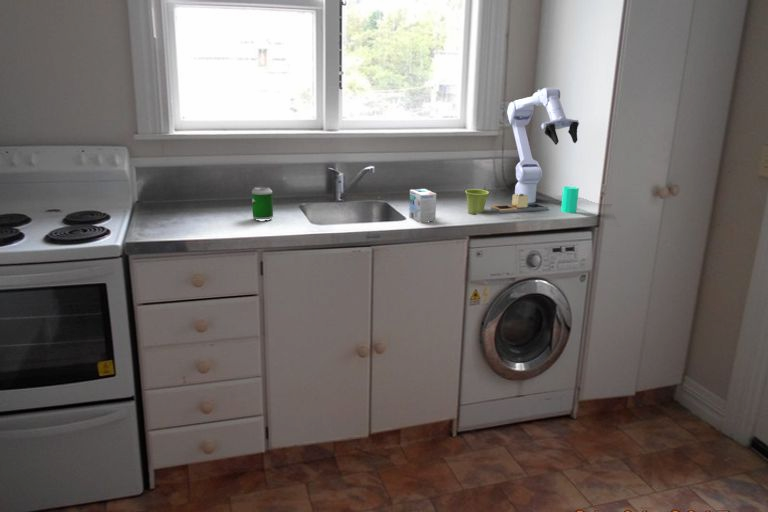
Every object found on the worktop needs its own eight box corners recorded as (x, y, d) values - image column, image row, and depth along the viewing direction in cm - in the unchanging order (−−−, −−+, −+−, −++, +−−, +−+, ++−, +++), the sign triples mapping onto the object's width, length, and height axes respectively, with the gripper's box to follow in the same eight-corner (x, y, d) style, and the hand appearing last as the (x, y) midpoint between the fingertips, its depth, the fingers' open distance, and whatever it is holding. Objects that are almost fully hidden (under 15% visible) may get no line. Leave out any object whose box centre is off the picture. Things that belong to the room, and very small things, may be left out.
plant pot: (490, 211, 266) (491, 190, 264) (483, 216, 258) (485, 194, 256) (468, 209, 270) (469, 188, 268) (460, 214, 262) (461, 192, 259)
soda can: (276, 218, 250) (275, 187, 247) (267, 222, 244) (266, 190, 240) (259, 216, 253) (258, 185, 249) (249, 220, 246) (247, 189, 242)
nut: (511, 208, 268) (512, 193, 266) (521, 208, 270) (522, 192, 268) (517, 211, 264) (518, 195, 262) (527, 210, 266) (528, 195, 264)
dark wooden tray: (490, 211, 267) (491, 205, 266) (537, 208, 274) (538, 202, 273) (499, 215, 260) (499, 209, 260) (547, 211, 268) (547, 206, 267)
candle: (576, 215, 262) (579, 185, 259) (561, 214, 264) (564, 184, 260) (575, 212, 268) (578, 182, 265) (560, 211, 269) (563, 182, 266)
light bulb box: (408, 216, 256) (409, 189, 253) (424, 215, 259) (425, 188, 256) (419, 223, 247) (420, 194, 244) (436, 221, 249) (437, 193, 246)
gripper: (541, 108, 251) (551, 137, 245) (577, 105, 253) (588, 134, 247) (536, 120, 257) (545, 148, 251) (570, 117, 259) (581, 145, 254)
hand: (566, 142), depth 250 cm, fingers open, 7 cm apart
